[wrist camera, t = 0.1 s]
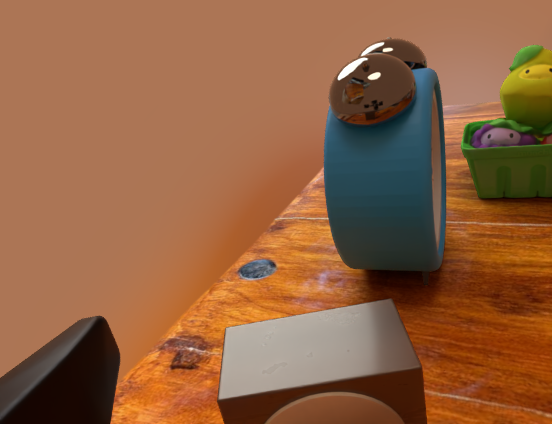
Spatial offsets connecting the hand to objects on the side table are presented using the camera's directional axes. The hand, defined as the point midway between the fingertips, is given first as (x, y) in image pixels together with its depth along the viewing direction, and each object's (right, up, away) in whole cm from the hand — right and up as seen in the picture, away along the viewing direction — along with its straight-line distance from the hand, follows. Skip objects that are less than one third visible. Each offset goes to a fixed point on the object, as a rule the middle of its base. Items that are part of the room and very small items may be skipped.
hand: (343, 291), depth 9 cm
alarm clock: (+8, -2, +26) cm, 27 cm away
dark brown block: (+1, -10, +12) cm, 15 cm away
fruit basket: (+21, +4, +33) cm, 39 cm away
